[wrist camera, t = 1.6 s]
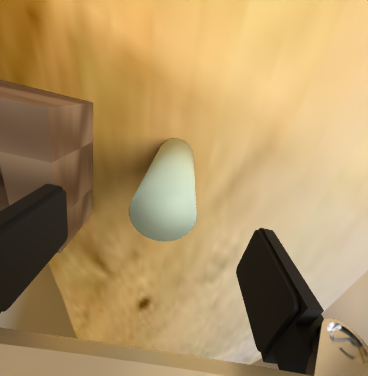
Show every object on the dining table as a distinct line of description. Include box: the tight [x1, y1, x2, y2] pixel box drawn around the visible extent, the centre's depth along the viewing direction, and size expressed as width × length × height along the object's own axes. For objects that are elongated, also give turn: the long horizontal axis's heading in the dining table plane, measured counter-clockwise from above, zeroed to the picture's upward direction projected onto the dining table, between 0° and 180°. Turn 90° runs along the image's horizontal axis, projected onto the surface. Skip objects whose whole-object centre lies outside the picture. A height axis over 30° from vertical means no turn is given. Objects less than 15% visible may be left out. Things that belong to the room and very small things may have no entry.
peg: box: [129, 138, 197, 241], centre depth 14 cm, size 3×3×10 cm
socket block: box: [0, 80, 93, 253], centre depth 16 cm, size 12×12×6 cm
